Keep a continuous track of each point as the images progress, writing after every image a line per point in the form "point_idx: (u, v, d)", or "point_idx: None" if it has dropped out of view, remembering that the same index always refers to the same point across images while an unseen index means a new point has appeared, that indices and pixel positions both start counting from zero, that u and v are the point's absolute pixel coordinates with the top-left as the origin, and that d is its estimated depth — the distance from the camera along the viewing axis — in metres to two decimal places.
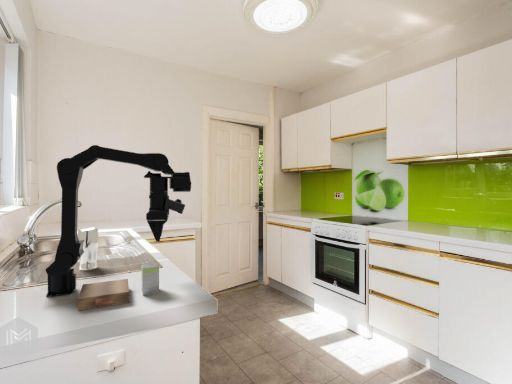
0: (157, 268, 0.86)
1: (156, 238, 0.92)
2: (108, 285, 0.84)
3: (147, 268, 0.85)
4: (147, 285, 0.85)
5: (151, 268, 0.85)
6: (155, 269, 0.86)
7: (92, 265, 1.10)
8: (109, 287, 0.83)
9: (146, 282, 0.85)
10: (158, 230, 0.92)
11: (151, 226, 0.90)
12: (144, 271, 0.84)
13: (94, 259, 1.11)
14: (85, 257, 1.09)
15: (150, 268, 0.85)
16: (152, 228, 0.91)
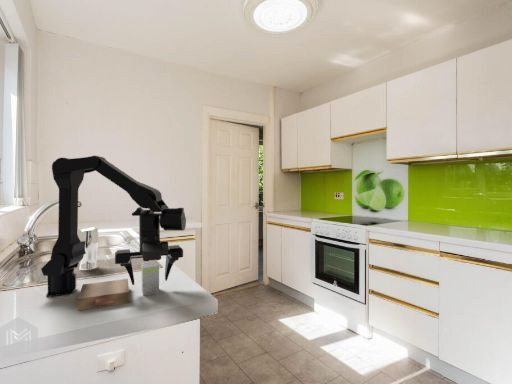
0: (157, 268, 0.86)
1: None
2: (108, 285, 0.84)
3: (147, 268, 0.85)
4: (147, 285, 0.85)
5: (151, 268, 0.85)
6: (155, 269, 0.86)
7: (92, 265, 1.10)
8: (109, 287, 0.83)
9: (146, 282, 0.85)
10: None
11: None
12: (144, 271, 0.84)
13: (94, 259, 1.11)
14: (85, 257, 1.09)
15: (150, 268, 0.85)
16: None
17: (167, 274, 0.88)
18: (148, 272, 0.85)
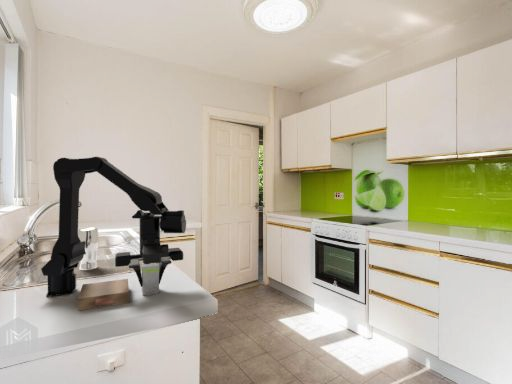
0: (157, 268, 0.86)
1: (139, 282, 0.86)
2: (108, 285, 0.84)
3: (147, 268, 0.85)
4: (147, 285, 0.85)
5: (151, 268, 0.85)
6: (155, 269, 0.85)
7: (92, 265, 1.10)
8: (109, 287, 0.83)
9: (146, 282, 0.85)
10: (137, 275, 0.85)
11: None
12: (144, 271, 0.84)
13: (94, 259, 1.11)
14: (85, 257, 1.09)
15: (150, 268, 0.85)
16: None
17: (160, 278, 0.87)
18: (148, 272, 0.85)
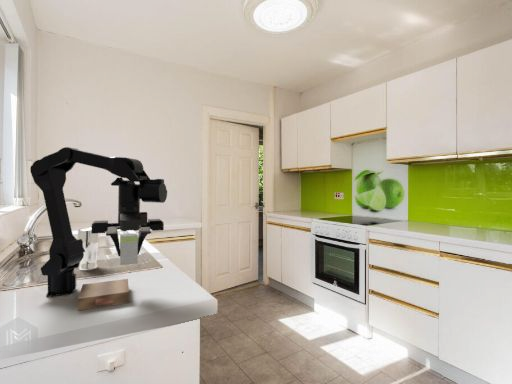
0: (136, 237, 0.83)
1: (117, 252, 0.84)
2: (108, 285, 0.84)
3: (125, 237, 0.82)
4: (125, 254, 0.82)
5: (130, 237, 0.82)
6: (134, 238, 0.83)
7: (92, 265, 1.10)
8: (109, 287, 0.83)
9: (124, 251, 0.82)
10: None
11: None
12: (122, 240, 0.82)
13: (94, 259, 1.11)
14: (85, 257, 1.09)
15: (128, 237, 0.82)
16: None
17: (139, 248, 0.85)
18: (126, 241, 0.82)
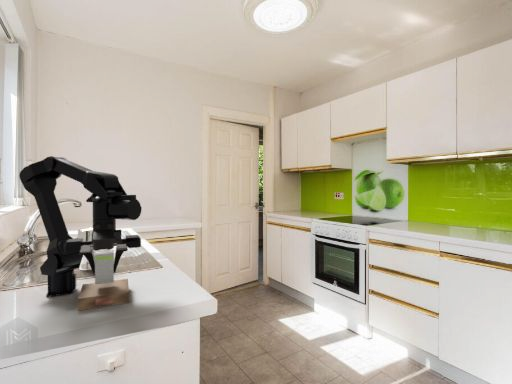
0: (111, 255, 0.80)
1: (93, 271, 0.81)
2: (108, 285, 0.84)
3: (100, 255, 0.79)
4: (100, 273, 0.79)
5: (104, 255, 0.80)
6: (109, 256, 0.80)
7: None
8: (109, 287, 0.83)
9: (99, 270, 0.79)
10: None
11: None
12: (96, 258, 0.79)
13: None
14: (85, 257, 1.09)
15: (103, 255, 0.80)
16: None
17: (115, 266, 0.82)
18: (101, 259, 0.79)
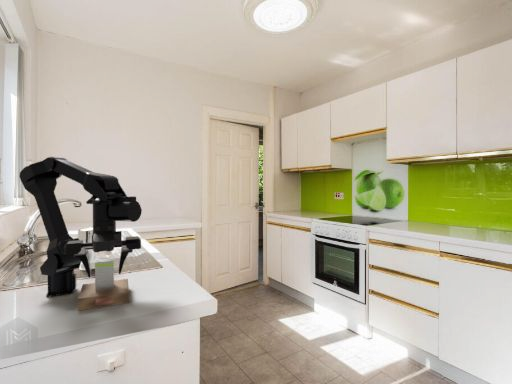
0: (111, 262, 0.81)
1: (88, 273, 0.80)
2: None
3: (100, 262, 0.79)
4: (100, 280, 0.79)
5: (105, 262, 0.80)
6: (109, 263, 0.80)
7: (92, 265, 1.10)
8: None
9: (99, 277, 0.79)
10: None
11: None
12: (97, 265, 0.79)
13: (94, 259, 1.11)
14: None
15: (103, 262, 0.80)
16: None
17: (120, 267, 0.83)
18: (101, 267, 0.79)
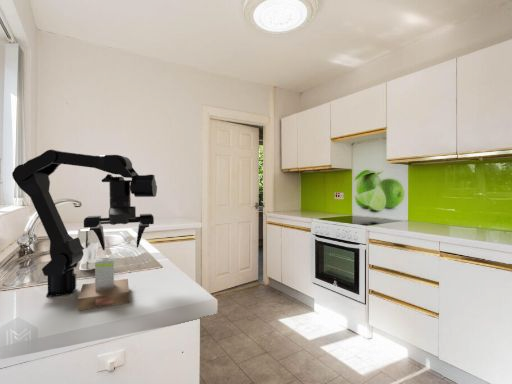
0: (111, 262, 0.81)
1: (102, 246, 0.87)
2: None
3: (100, 262, 0.79)
4: (100, 280, 0.79)
5: (105, 262, 0.80)
6: (109, 263, 0.80)
7: (92, 265, 1.10)
8: None
9: (99, 277, 0.79)
10: None
11: None
12: (97, 265, 0.79)
13: (94, 259, 1.11)
14: (85, 257, 1.09)
15: (103, 262, 0.80)
16: None
17: (138, 241, 0.89)
18: (101, 267, 0.79)
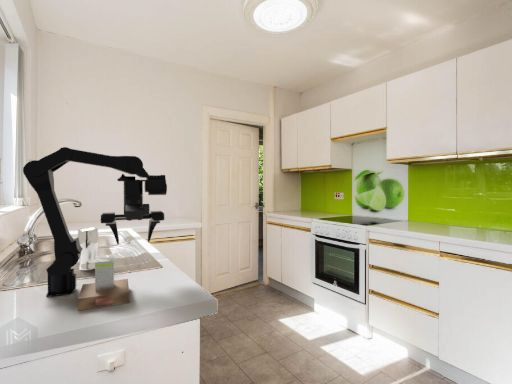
0: (111, 262, 0.81)
1: None
2: None
3: (100, 262, 0.79)
4: (100, 280, 0.79)
5: (105, 262, 0.80)
6: (109, 263, 0.80)
7: (92, 265, 1.10)
8: None
9: (99, 277, 0.79)
10: None
11: None
12: (97, 265, 0.79)
13: (94, 259, 1.11)
14: (85, 257, 1.09)
15: (103, 262, 0.80)
16: None
17: (149, 236, 0.96)
18: (101, 267, 0.79)
